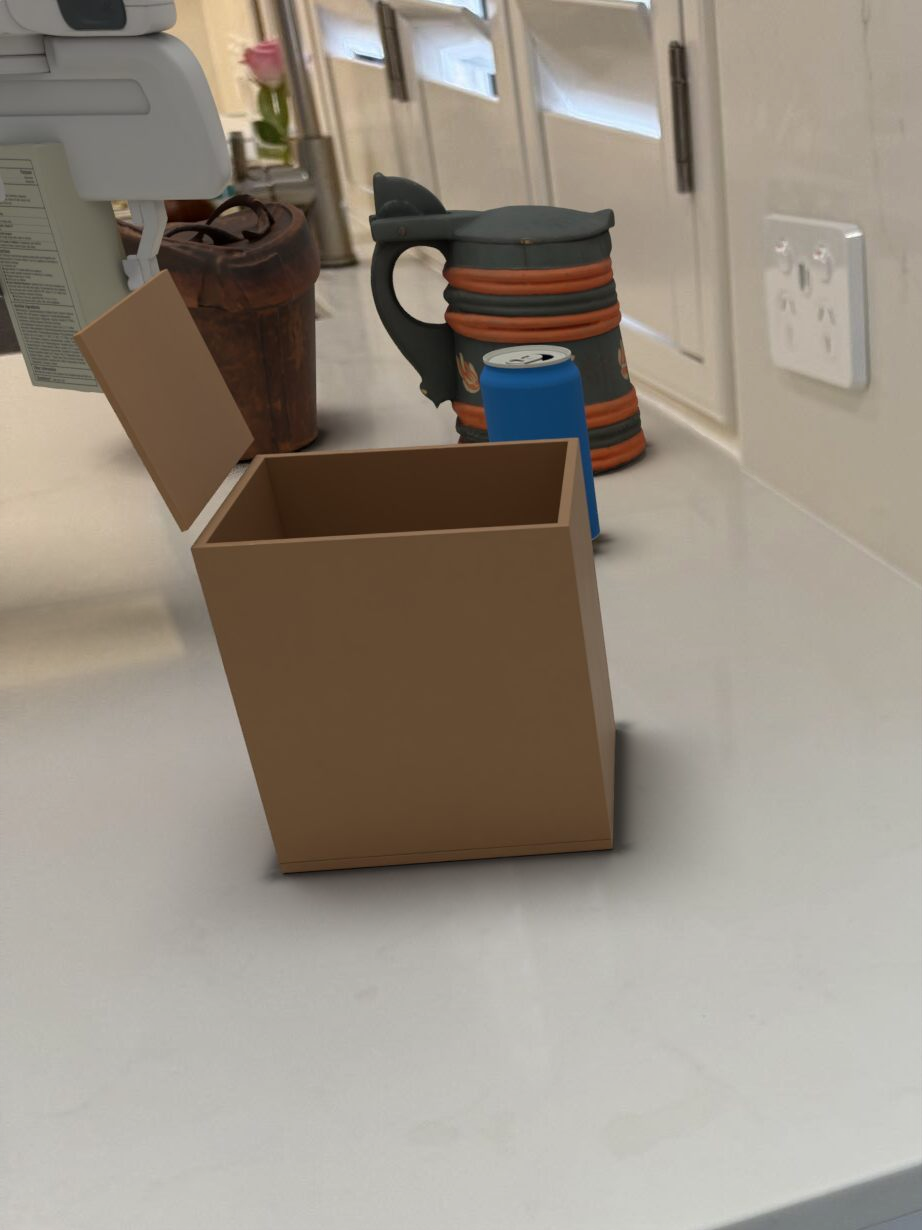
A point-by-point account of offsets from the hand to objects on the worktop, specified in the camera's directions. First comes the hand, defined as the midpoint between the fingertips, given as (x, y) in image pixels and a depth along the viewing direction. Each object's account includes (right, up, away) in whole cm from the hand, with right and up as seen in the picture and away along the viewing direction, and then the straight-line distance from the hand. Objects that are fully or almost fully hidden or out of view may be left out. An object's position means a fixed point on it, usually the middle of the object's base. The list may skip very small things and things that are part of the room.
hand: (70, 294), depth 89 cm
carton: (+25, -31, -12) cm, 42 cm away
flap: (+16, -17, -24) cm, 34 cm away
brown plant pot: (-7, +11, +43) cm, 45 cm away
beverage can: (+24, -7, +19) cm, 31 cm away
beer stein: (+18, +7, +37) cm, 42 cm away
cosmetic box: (0, -4, +3) cm, 5 cm away
